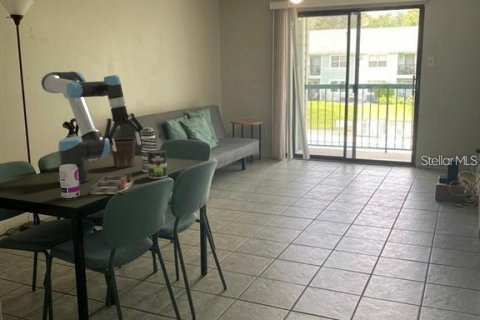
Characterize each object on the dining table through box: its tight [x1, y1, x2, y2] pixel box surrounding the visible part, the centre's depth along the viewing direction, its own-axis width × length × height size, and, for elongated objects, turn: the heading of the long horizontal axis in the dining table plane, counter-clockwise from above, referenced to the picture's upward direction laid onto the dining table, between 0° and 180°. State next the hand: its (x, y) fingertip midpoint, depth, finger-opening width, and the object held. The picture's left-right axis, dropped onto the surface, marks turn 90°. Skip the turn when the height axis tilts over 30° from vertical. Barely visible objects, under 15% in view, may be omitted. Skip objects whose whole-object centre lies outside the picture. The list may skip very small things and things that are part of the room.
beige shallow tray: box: [89, 170, 136, 195], centre depth 236 cm, size 16×27×6 cm, turn 2°
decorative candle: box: [140, 126, 157, 173], centre depth 274 cm, size 9×9×25 cm
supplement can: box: [58, 164, 81, 199], centre depth 219 cm, size 8×8×15 cm
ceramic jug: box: [62, 117, 85, 162], centre depth 291 cm, size 17×15×30 cm
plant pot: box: [109, 137, 137, 169], centre depth 290 cm, size 16×16×16 cm
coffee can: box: [147, 149, 168, 180], centre depth 259 cm, size 10×10×14 cm
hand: (127, 147), depth 241 cm, fingers open, 13 cm apart
